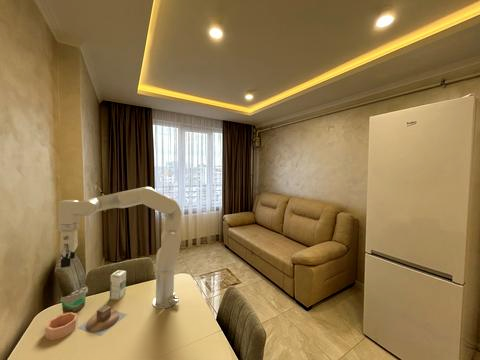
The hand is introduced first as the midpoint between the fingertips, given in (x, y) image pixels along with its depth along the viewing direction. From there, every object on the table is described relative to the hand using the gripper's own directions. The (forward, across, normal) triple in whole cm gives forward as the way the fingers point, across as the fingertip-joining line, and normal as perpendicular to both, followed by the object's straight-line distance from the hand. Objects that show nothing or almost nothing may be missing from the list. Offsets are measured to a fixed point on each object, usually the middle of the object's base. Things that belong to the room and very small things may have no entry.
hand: (68, 262), depth 92 cm
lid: (+29, -6, -15) cm, 33 cm away
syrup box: (+30, +12, -20) cm, 38 cm away
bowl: (+30, -4, +1) cm, 30 cm away
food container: (+30, +10, -3) cm, 31 cm away
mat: (+29, -6, -15) cm, 34 cm away
